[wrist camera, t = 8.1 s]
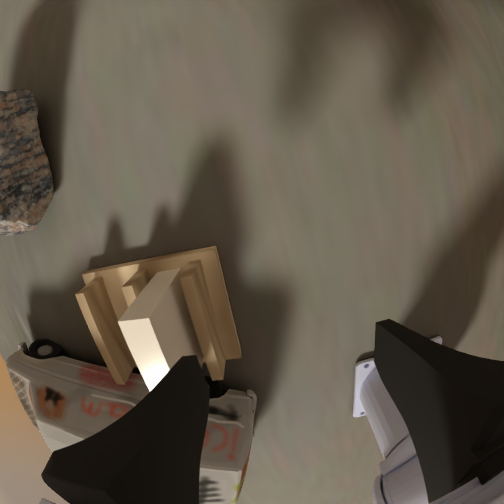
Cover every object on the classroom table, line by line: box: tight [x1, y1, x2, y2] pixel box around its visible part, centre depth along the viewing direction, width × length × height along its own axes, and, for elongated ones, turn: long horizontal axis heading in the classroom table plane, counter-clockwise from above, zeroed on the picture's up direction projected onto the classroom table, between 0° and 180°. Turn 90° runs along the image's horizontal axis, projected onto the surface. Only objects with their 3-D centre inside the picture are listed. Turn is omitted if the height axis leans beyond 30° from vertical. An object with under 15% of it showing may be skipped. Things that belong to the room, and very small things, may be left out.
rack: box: [75, 246, 241, 385], centre depth 20 cm, size 11×9×4 cm
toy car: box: [6, 339, 257, 504], centre depth 20 cm, size 11×25×10 cm, turn 84°
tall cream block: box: [118, 268, 204, 391], centre depth 17 cm, size 2×7×7 cm, turn 11°
